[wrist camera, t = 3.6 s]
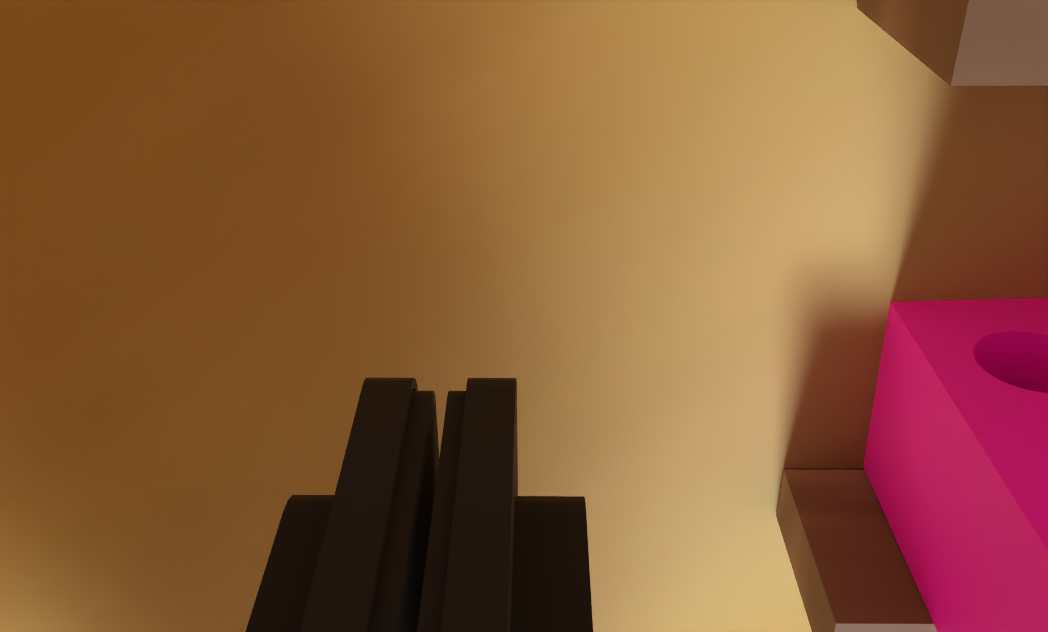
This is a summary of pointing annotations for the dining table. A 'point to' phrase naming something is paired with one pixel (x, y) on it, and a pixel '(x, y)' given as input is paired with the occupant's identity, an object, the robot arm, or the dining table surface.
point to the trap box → (847, 495)
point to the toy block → (967, 457)
